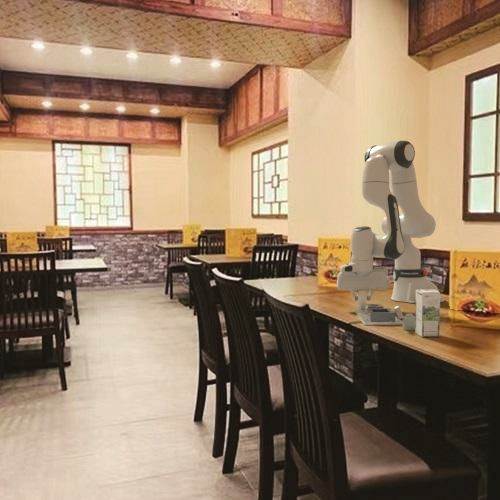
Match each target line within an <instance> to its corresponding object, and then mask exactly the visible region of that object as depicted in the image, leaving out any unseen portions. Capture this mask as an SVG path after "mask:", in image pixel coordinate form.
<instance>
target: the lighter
mask: <svg viewBox="0 0 500 500" xmlns="http://www.w3.org/2000/svg"><path fill="white" fill-rule="evenodd" d="M393 311H394V312H395V315H397V316H396V317H397V318H398V319H399V320H401V319H402V320H401V321H402V325H401V326H402V327H401V329H402V330H403V331H415V315H414V314H413V313H405V316H404V314H403V312H402V310H401V307H399V305H395V306H394V307H393Z"/></svg>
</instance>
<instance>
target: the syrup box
mask: <svg viewBox="0 0 500 500" xmlns="http://www.w3.org/2000/svg"><path fill="white" fill-rule="evenodd" d="M440 296H441V292H440V291H439V290H438V291H437V290H435V289H420V290H416V303H415V312H414V314H415V315H414V316H415V330H414V332H415V334H416V335H418V336H419V337H421V338H436V337H437V338H438V337H440V323H441V322H440V321H441V319H440V316H441V311H440V310H441V302H440Z"/></svg>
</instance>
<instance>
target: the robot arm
mask: <svg viewBox="0 0 500 500" xmlns="http://www.w3.org/2000/svg"><path fill="white" fill-rule="evenodd" d="M415 156H416V151H415V148H414V146H413V144H412V143H411V142H410V141H408V140H399V141H398V140H397V141H389V142H385V143H381V144H377V145H373V146H372V145H371V146H370V147H369V148H367V150H366V152H365V153H364V167H363V170H362V178H361V179H362V180H361V193H362V198H363V199H364V200H365V201H366V202H367V203H369V204H370V205H372V206H375V207H378V208H379V209H381V210H382V211H383V212H384V214H385V217H383V219H382V221H381V230H382V232H383V233H384V234H381V233H380V234H377V233H375V232H373V229H372V227H370V226H366V225H365V226H364V225H363V226H358V227H355V228H353V230H352V231H351V239H350V251H351V257H350V262H348V263H345V264H341V265H340V266H339V272H338V274H337V278H336V288H337V289H338V290H339V291H350V294H351V295H352V296H353V302H355V301H356V302H357V301H358V299H357V298H358V296H357V295H355V292H356V291H357V290H367V291H368V290H369V292H370V293H369V294H368V295H367V302H368V301H372V297H373V294H374V293H375V291H376V290H387V289H388V287H389V285H388V275H389V270H388V268H387V267H385V266H383V265H381V266H374V258H379V259H389V260H394V268H393V273H392V275H393V290H392V294H391V298H390V300H392V301H395V302H396V301H397V302H403V303H410V304H416V290H420V289H435V290H437V291H439V288H438V287H437V285H436V284H435V283H433V282H432V281H431V280H430V279H428V278H427V277H426V276H427V275H429V271H428V270H426V269H423V268H422V267H421V262H422V261H421V259H422V258H421V254H422V253H421V250H420V249H419V248H418V247H417V246H416V245H414V243H413V241H412V238H413V239H415V238H417V239H421V238H426V237H430V236H432V235H433V234H434V232H435V230H436V227H437V223H436V219H435V218H434V217H433V215H432V214H430V213H429V212H428V211H427V210H426V208H425V207H424V206H423V204H422V202H421V200H420V197H419V190H418V184H417V183H418V182H417V175H416V169H415V166H414V165H415V164H414V159H415ZM399 208H400V209H401V211H402V212H399V211H400V210H399ZM443 302H445V298H444V297H442V296H441V295H440V303H443Z"/></svg>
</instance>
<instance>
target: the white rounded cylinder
mask: <svg viewBox="0 0 500 500" xmlns="http://www.w3.org/2000/svg"><path fill="white" fill-rule="evenodd" d="M356 296H358V298H357V299H358V301H356V306H357V307H356V308H357V310H365V304H368V301H367V296H368V290H356Z"/></svg>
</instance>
